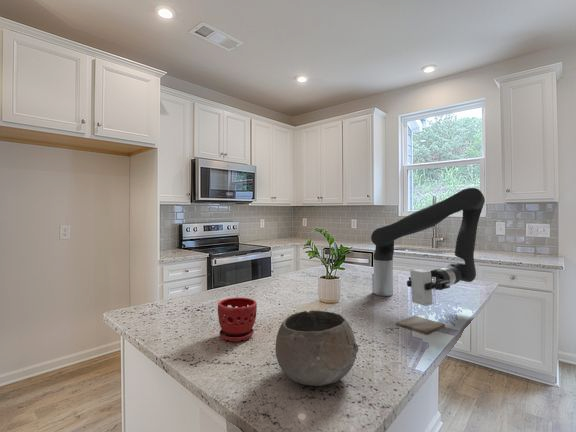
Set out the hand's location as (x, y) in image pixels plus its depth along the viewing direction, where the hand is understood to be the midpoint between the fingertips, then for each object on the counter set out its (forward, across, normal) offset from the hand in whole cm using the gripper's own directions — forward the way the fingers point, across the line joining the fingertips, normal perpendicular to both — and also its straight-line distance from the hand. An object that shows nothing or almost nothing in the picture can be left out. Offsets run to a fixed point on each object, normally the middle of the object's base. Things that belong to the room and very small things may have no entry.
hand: (416, 285), depth 114 cm
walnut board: (-2, 0, +15) cm, 15 cm away
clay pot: (+51, +3, +15) cm, 53 cm away
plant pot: (+55, -33, +14) cm, 66 cm away
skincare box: (-3, 0, +7) cm, 8 cm away
